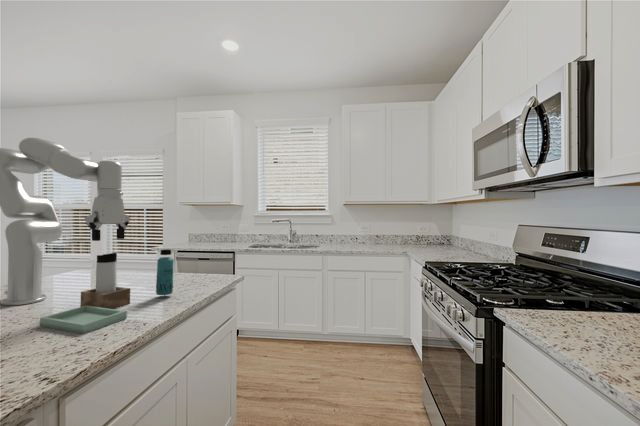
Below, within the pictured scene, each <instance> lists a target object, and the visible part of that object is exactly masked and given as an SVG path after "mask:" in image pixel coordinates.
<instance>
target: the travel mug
mask: <svg viewBox="0 0 640 426" xmlns="http://www.w3.org/2000/svg"><path fill="white" fill-rule="evenodd" d="M117 254H118V253H117V252H112V253H111V252H110V253H107V254H106V253H105V254H102V255H101V254H100V255H99V254H97V255H96V266H95V267H96V268H95V272H96V273H95V274H96V275H95V289H96V293H104V294H106V293H110V292H114V291H116V287H117V267H118V266H117V263H118V261H117V257H118V255H117Z"/></svg>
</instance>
